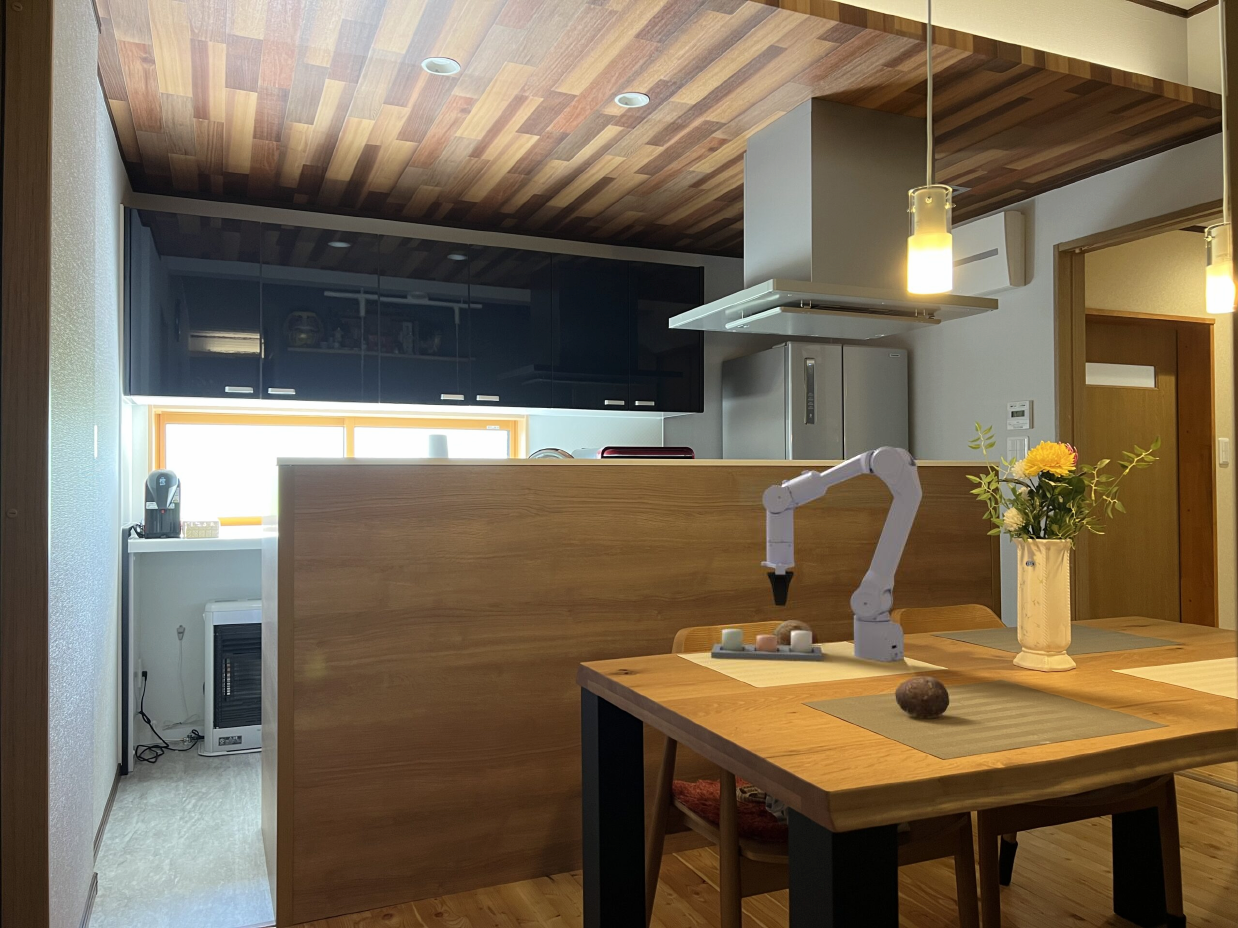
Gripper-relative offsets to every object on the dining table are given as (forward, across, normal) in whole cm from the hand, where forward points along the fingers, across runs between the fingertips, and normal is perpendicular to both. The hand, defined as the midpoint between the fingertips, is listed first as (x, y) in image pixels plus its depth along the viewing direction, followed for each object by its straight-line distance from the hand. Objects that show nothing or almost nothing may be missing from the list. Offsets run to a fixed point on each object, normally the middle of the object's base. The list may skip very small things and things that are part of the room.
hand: (780, 605), depth 201 cm
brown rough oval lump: (+11, +50, +22) cm, 56 cm away
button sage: (+9, +9, -10) cm, 16 cm away
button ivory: (+9, +9, +4) cm, 14 cm away
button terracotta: (+10, +9, -3) cm, 14 cm away
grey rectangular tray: (+10, +9, -3) cm, 14 cm away
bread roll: (+11, -9, +3) cm, 14 cm away
